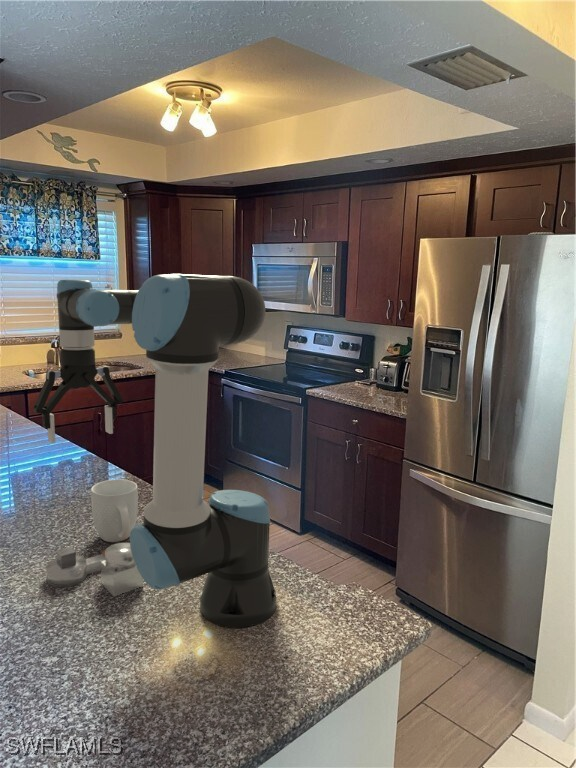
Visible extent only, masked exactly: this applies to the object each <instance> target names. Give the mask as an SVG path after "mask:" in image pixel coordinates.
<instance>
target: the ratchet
mask: <svg viewBox="0 0 576 768" xmlns="http://www.w3.org/2000/svg"><path fill="white" fill-rule="evenodd" d="M55 552H56V558H53V559H52V560H50V561H49V562H48V563H47V565H46V567H45V569H46V582H47V584H48V585H49V586H51V587H55V588H68V587H73V586H77V585H78V584H80V583H83V581H84V580H86V578H87V576H88V575H90V574H93V573H96V572H100V571H101V561H104V560H105V550H104V551H102V553H100V554H98V555H94V556H91V557H87V558H85V557H83V556H80V555H77V554H76V553H77V552H76V551H75V550H74V549H73V548H72V547H71V546H68V547H65V548H61V549H57V550H56V551H55Z"/></svg>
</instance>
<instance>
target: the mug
mask: <svg viewBox="0 0 576 768" xmlns="http://www.w3.org/2000/svg"><path fill="white" fill-rule="evenodd" d="M138 494H139V493H138V484H137V483H136V482H134V481H132V480H128V479H120V478H119V479H108V480H104V481H100V482H98V483H95V484H94V485H93V486H91V488H90V499H91V500H90V502H91V504H90V505H91V513H92V514H91V515H92V520H93V524H94V527H95V530H96V532H97V534H98V536H99V537H100V538H101V539H102V540H103V541H104V542H107V543H120V542H122V541H125V540H127V539H128V538H130V532H131V530H132V529H133V528H134V527H135V526H136V525H137V524H136V522H137V520H138V512H139V511H138V510H139V495H138Z"/></svg>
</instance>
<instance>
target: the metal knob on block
mask: <svg viewBox="0 0 576 768" xmlns="http://www.w3.org/2000/svg"><path fill="white" fill-rule="evenodd" d="M104 551H105V560H104V561H101V570H100V576H101V577H100V580H101V581H100V582H101V585H102V586H103V587H104V588H105V589H106V590H107V591H108V592H109V593H110V594H111V596H112V597H114V598H115V597H117V595H118V596H120V594H121V595H123V594H122V593H124V594H126V593H129V592H131V591H130V590H132V591H134V590H133V589H135V590H137V589H136V588H138V589H140V588H139V587H141V588H142V587H144V579H143V578H142V576H141V575H140V573H139V571H138V569H137V567H136V564H135V562H134V559H133V556H132V552H131V548H130V542H116V543H115V544H111V545H109V546H108V547H106V549H105V550H104ZM128 591H129V592H128ZM125 592H126V593H125Z"/></svg>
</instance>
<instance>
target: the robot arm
mask: <svg viewBox="0 0 576 768" xmlns="http://www.w3.org/2000/svg"><path fill="white" fill-rule="evenodd" d="M56 285H57V286H56V295H55V296H56V300H57V315H58V316H57V317H58V332H59V333H58V334H59V346H60V350H59V352H60V354H59V355H60V358H59V359H60V369H59V370H51V369H48V370H46V373H45V381H44V383H43V385H42V388H41V390H40V392H39V395H38V396H37V399H36V401H35V403H34V405H33V407H32V411H33V412H35V413H37V414H40V415H42V416H41V417H42V427H43V428H44V429H46V430H47V441H48V442H50V443H51V444H55V443H56V432H55V431H56V429H55V415H54V414H53V413H52V412H53V411H54V410H55V408H56V406H57V405H58V404H59V403H60V401H61V400H62V398H63V397H64V396H65V394H66V393H67V392H69V391H70V389H73V390H74V389H79V388H84V389H86V388H88V387H91V389H93V390H94V392H96V394H98V396H100V398H101V399H102V400H104V402H105V403H106V404H107V405H104V424H105V425H104V426H105V432H106V433H108V434H110V435H112V434H114V426H113V425H114V424H113V423H114V422H113V420H115V419H116V418H117V413H116V412H117V410H116V408H117V407H118V405H120V404H122V403H124V399H123V397H122V395H121V394H120V391H119V390H118V388H117V386H116V384H115V383H114V381H113V379H112V377H111V374H110V368H109V366H105V365H101V366H99V367H96V350H95V349H94V346H95V345H96V344H95V327H104V326H109V325H130V324H131V327H132V331H133V332H134V333H133V337H134V340H135V342H136V343H137V345H138V346H139V347H140V348H141V349H142V350H146V351H145V353H146V354H145V358H146V359H147V361H148V362H149V363H151V365H153V367H154V368H155V369H154V370H155V372H154V373H155V374H154V375H155V377H154V378H155V379H154V381H155V382H154V425H153V426H154V427H153V431H154V432H153V465H152V466H153V470H152V472H153V473H152V477H153V480H152V500H151V501H149V502H148V503H147V504H146V505H145V506H144V508H143V518H142V519H143V523H142V524H141V523H138V524H136V525H135V527H134V528H133V529H132V530H131V532H130V536H129V543H130V548H131V552H132V556H133V559H134V562H135V564H136V567H137V569H138V571H139V573H140V575H141V576H142V578H143V582H145V584H146V585H148V586H149V587H150V588H153V590H164V589H168V588H171V587H177V586H179V585H181V584H183V583H187V582H188V581H191V580H193V579H197V578H198V577H202V576H204V575H207V576H206V578H205V582H204V584H203V588H202V591H201V592H200V596H199V610H200V613H201V615H202V616H203V617H204V618H205V619H206V620H207V621H209V622H210V623H213V624H215V625H217V626H220V627H224V628H225V627H226V628H233V629H234V628H236V629H237V628H238V629H239V628H240V629H241V628H248V627H252V626H257V625H259V624H262V623H264V622H265V621H267V620H268V619H269V618H271V617H272V616H273V614H274V613H275V612H276V609H277V592H276V589H275V586H274V583H273V580H272V577H271V574H270V570H269V553H270V552H269V550H270V549H269V548H270V547H269V546H270V545H269V544H270V523H271V519H270V506H269V503H268V501H267V500H266V498H264V497H263V496H261V495H259V494H257V493H254V492H251V491H247V490H241V489H239V490H238V489H222V490H221V489H220V490H216V491H214V492H213V493H211V494H210V496H209V498H208V503H207V501H205V499H203V498H204V482H205V461H206V460H205V457H206V437H207V436H206V434H207V413H208V411H207V408H208V385H209V370H210V369H211V368H212V367H213V366H214V365H215V364H216V363H217V362H218V361H219V348H220V346H228V345H229V346H230V345H236V344H240V343H243V342H246V341H247V340H250V339H251V338H252V337H254V336H255V335H256V334H257V333H258V332H259V330H260V329H261V327H262V326H263V324H264V321H265V317H266V303H265V300H264V297H263V294H262V293H261V292H260V290H259V289H258V288H257V286H255V284H253V283H252V282H250V281H248V280H246V279H245V278H242V277H239V276H238V277H237V276H232V275H204V274H203V275H202V274H188V273H187V274H185V273H184V274H183V273H170V274H169V273H168V274H165V273H164V274H157V275H153V276H151V277H149V278H147V279H146V280H145V281H144V282H143V283H142V285H141V286H140V287H139V289H135V290H133V289H132V290H130V289H102V288H101V289H99V288H98V289H96V288H93V284H92V282H91V281H90V280H88V279H87V280H84V279H60V280H59V281H57V284H56ZM97 375H99V376H100V377H101V379H102V380H103V382H104V384H105V386H106V387H107V389H108V391H109V393H110V395H111V396H112V397H111V396H110V395H109V394H108V393H107V392H106V391H105V390H104V389H103V388H102V387H101V386H100V384H99V383H98V382H97V381H96V380H95V378H96V376H97ZM59 377H60V378H61V379H62V381H61V382H60V384H59V385H58V387H57V389H56V390H55V391H54V393H53V394H52V396H51V397H49V396H50V394H51V392H52V389H53V388H54V384H55V382H56V381H57V380H58V379H59ZM48 398H49V399H48ZM47 400H48V401H47Z"/></svg>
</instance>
